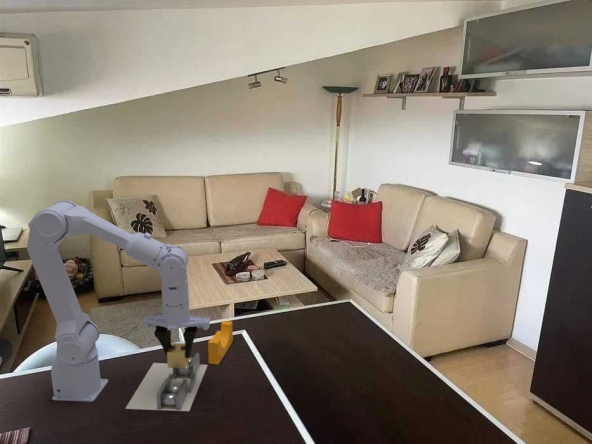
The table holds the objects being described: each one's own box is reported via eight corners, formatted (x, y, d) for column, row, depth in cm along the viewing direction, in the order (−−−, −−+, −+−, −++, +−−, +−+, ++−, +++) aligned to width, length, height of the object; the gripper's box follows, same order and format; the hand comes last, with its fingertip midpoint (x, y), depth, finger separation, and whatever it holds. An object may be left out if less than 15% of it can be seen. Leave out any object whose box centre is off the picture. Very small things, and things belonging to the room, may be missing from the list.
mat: (125, 409, 98) (125, 408, 98) (153, 364, 116) (153, 362, 116) (189, 412, 98) (189, 411, 98) (207, 365, 115) (207, 364, 115)
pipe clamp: (218, 341, 128) (217, 320, 126) (232, 342, 127) (232, 321, 126) (202, 364, 117) (201, 341, 115) (218, 366, 116) (217, 343, 114)
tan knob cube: (173, 358, 107) (172, 341, 106) (189, 358, 107) (189, 342, 106) (167, 367, 103) (166, 351, 102) (185, 368, 103) (184, 351, 102)
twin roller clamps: (154, 408, 98) (153, 394, 98) (177, 364, 115) (176, 352, 115) (183, 410, 98) (182, 396, 97) (202, 365, 115) (201, 352, 114)
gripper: (137, 308, 98) (141, 363, 101) (203, 310, 97) (205, 366, 101) (148, 294, 105) (152, 347, 108) (210, 296, 104) (212, 349, 108)
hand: (178, 355), depth 105 cm, fingers closed on tan knob cube, 4 cm apart
